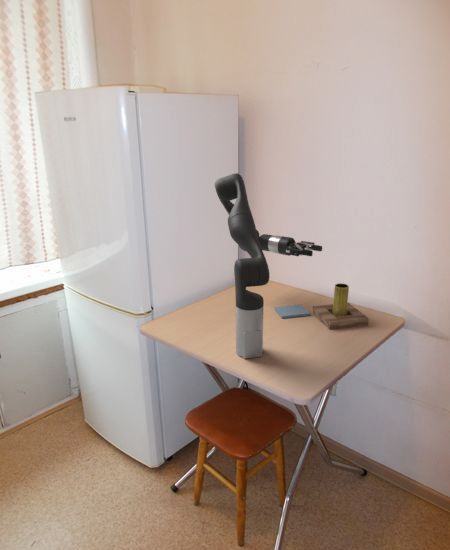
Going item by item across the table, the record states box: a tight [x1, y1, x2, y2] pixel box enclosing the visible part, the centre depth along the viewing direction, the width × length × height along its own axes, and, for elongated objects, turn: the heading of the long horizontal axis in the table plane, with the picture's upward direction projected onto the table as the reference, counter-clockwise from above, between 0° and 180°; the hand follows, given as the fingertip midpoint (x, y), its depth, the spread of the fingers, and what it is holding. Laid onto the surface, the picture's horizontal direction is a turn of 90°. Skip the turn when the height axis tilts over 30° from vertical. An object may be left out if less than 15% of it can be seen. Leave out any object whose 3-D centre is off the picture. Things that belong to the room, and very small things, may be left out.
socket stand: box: [312, 302, 370, 331], centre depth 169 cm, size 16×16×3 cm
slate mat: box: [273, 303, 311, 319], centre depth 176 cm, size 10×12×1 cm
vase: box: [332, 282, 350, 317], centre depth 167 cm, size 6×6×14 cm
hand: (317, 251), depth 168 cm, fingers open, 8 cm apart
